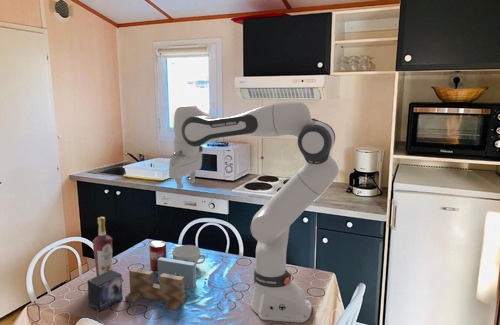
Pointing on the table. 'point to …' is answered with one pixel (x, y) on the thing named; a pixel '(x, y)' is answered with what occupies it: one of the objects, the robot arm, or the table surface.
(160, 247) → the soda can
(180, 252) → the teacup
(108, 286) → the small box
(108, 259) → the liquor
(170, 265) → the blue-gray flat plate
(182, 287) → the walnut slotted board
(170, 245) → the table surface
